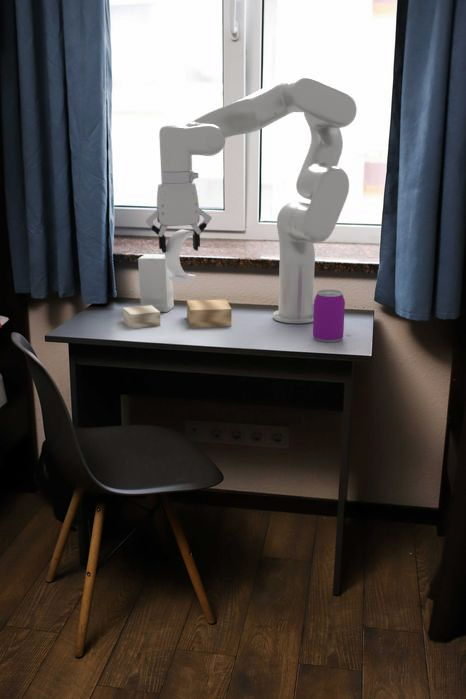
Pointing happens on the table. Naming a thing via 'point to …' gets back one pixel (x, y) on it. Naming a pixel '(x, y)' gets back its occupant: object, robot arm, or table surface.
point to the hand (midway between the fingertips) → (179, 250)
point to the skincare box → (155, 282)
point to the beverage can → (328, 316)
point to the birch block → (141, 316)
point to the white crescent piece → (177, 256)
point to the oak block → (209, 313)
